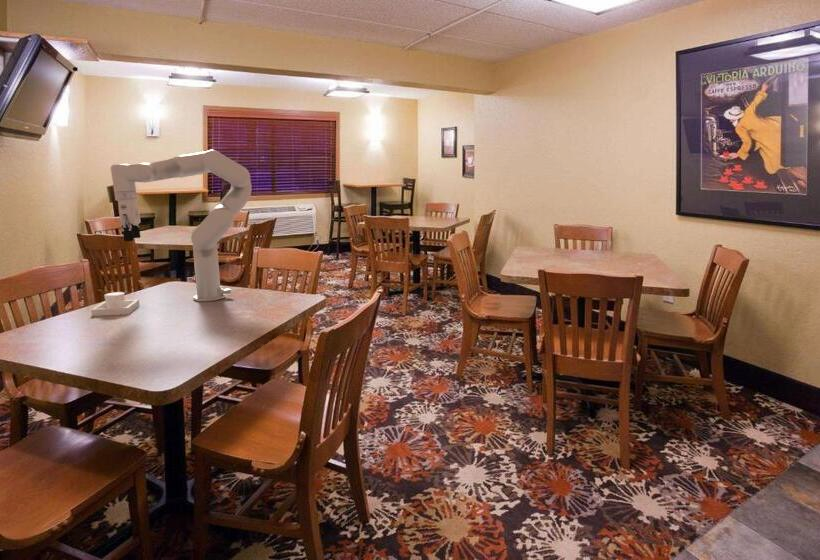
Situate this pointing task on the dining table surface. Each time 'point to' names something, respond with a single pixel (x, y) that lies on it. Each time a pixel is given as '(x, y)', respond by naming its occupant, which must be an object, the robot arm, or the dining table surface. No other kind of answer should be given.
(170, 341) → the dining table surface
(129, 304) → the box
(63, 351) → the dining table surface
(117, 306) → the shot glass
